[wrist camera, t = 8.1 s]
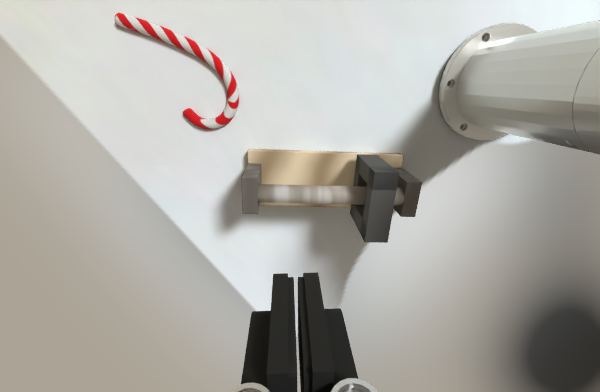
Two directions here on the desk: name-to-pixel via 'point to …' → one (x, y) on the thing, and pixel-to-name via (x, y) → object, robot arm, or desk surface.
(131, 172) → the desk surface
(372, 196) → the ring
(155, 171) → the desk surface
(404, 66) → the desk surface
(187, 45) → the candy cane
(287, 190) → the rail fixture
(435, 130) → the desk surface
